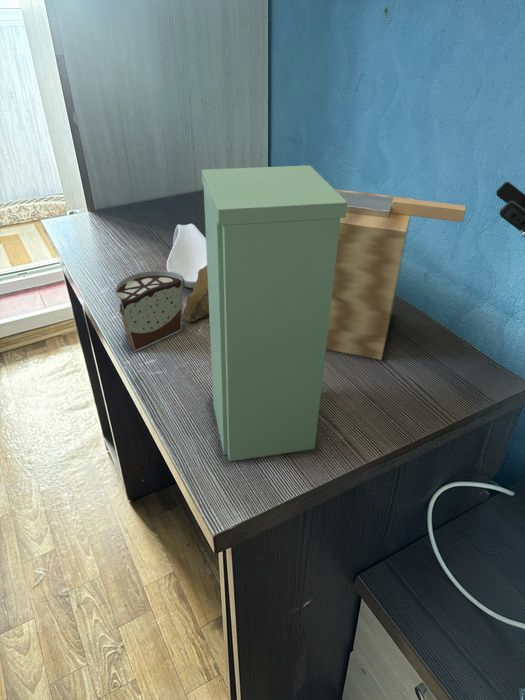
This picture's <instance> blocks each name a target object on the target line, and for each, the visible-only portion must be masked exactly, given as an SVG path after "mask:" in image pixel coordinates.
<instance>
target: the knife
mask: <svg viewBox="0 0 525 700" xmlns="http://www.w3.org/2000/svg"><path fill="white" fill-rule="evenodd" d="M337 192H338V193H339V194H340V195H341V196H342V197H343V198H344V199H345V200H346V201H347V211H346V212H347V213H355V214H362V215H370V216H378V217H385V218H389V216H390V213H393V214H401V215H409V216H411V217H417V218H426V219H431V220H432V219H434V220H441V221H447V222H448V221H449V222H455V223H463V222H464V219H465V215H466V208H467V207H466V205H463V204H454V203H447V202H438V201H431V200H422V199H415V198H413V199H406V198H407V197H405V198H398V197H399V196H397V197H394V198H390V197H382V196H374V195H365V194H357V193H349V192H341V191H337Z"/></svg>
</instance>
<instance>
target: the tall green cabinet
mask: <svg viewBox="0 0 525 700" xmlns="http://www.w3.org/2000/svg"><path fill="white" fill-rule="evenodd" d="M201 183H202V186H203V202H204V205H203V206H204V224H205V225H204V227H205V238H206V251H207V274H208V296H209V314H208V315H209V337H210V339H209V340H210V362H211V384H212V385H211V386H212V403H213V404H212V405H213V410H214V411H213V412H214V415H215V420H216V424H217V429H218V434H219V439H220V444H221V449H222V453H223V455H225V456H226V455H227V458H228V461H229V462H235V461H243V460H247V459H248V460H249V459H255V458H263V457H271V456H275V455H276V456H277V455H282V454H290V453H297V452H305V451H310V450H315V449H316V441H317V431H318V423H319V422H318V421H319V414H320V413H319V412H320V403H321V398H322V397H321V395H322V389H323V386H322V385H323V379H324V369H325V360H326V351H327V349H326V344H327V335H328V326H329V317H330V308H331V300H332V291H333V282H334V273H335V264H336V255H337V247H338V238H339V229H340V220H341V218H346V211H347V201H346V200H345V199H344V198H343V197H342V196H341V195H340V194H339V193H338V192H337V191H336V190H335V189H336V188H334V187H333V186H331V184H330V183H329V182H328V181H327V180H326V179H324V177H323V176H322V175H321V174H320V173H319V172H318V171H316V169H314V167H313V166H312V165H306V164H305V165H285V166H284V165H283V166H262V167H261V166H259V167H257V166H256V167H237V168H235V167H234V168H233V167H231V168H211V169H210V168H209V169H201Z"/></svg>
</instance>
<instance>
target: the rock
mask: <svg viewBox="0 0 525 700" xmlns="http://www.w3.org/2000/svg"><path fill="white" fill-rule="evenodd" d="M207 315H209V296H208V274H207V265H206V266H205V267H204V268H202V269H200V270H199V272H198V278H197V281H196V283H195V285H194V288H192V291H191V293H190V294H189V295H188V297H187V299H186V304H185V307H184V309H183V310H182V319H184V320H185V321H186V322H188V323H194V322H196V321H198V320H200V319H201V318H204V317H206V316H207Z"/></svg>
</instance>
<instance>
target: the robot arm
mask: <svg viewBox="0 0 525 700" xmlns="http://www.w3.org/2000/svg"><path fill="white" fill-rule="evenodd" d="M495 193H496V196H497V198H499V199H500V200H502V201H503V202H504V203H506V204H505V205H504V206H503V207H502V208H500V210H499V217H501V218H502V219H503V220H504V221H506V222H507V223H508V224H510V225H511V226H513V227H514V228H515V229H516V230H518V231H519V232H520V235H521V237H522V238H524V239H525V193H524V192H523V191H521V190H520V189H519V188H518V187H517V186H515V185H514V184H512V182H510V181H504V183H503V184H502V185H500V186H499V188H497V190H496V192H495Z"/></svg>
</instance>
